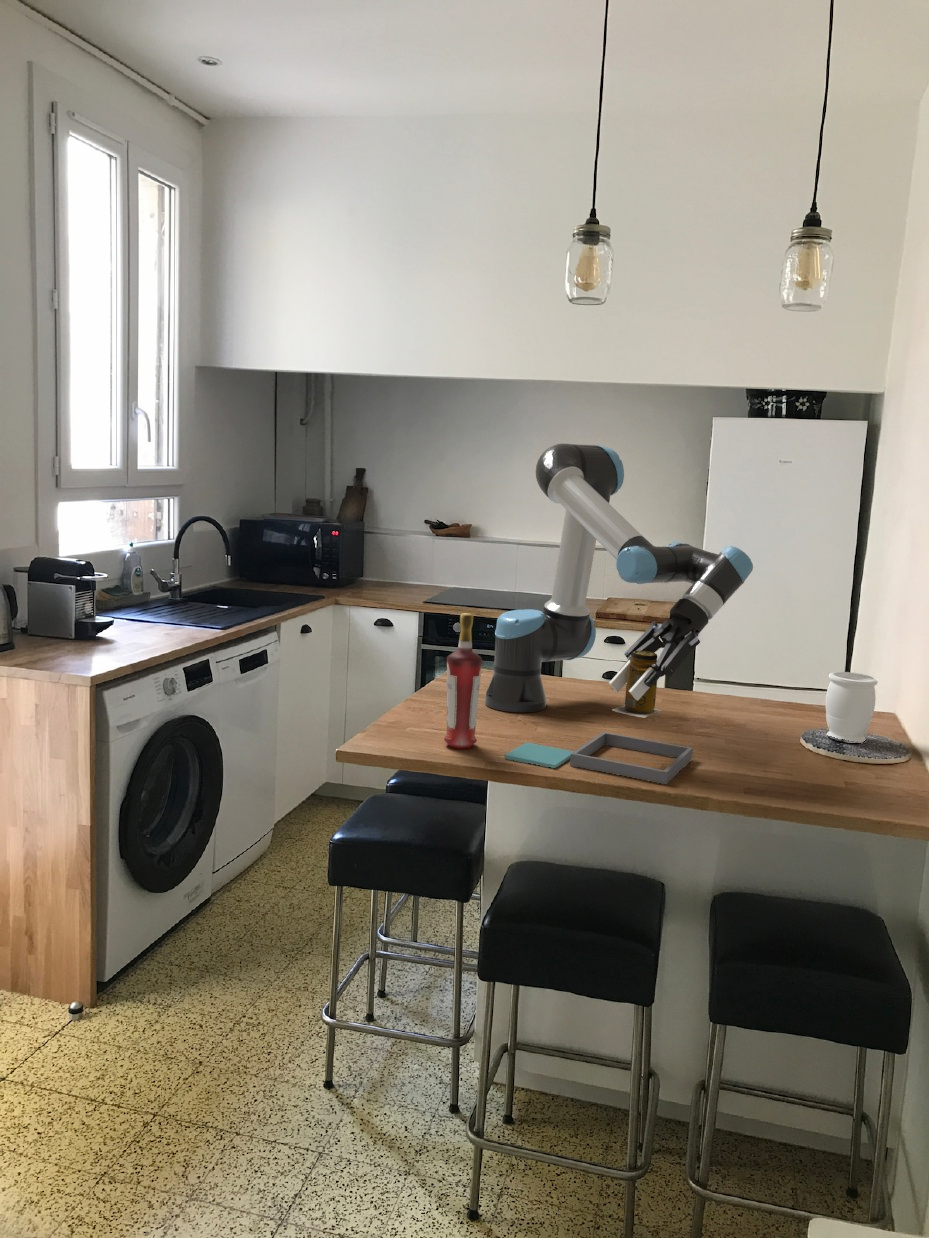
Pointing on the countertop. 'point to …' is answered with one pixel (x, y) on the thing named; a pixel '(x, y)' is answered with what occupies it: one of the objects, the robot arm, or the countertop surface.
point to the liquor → (463, 689)
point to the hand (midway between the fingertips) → (623, 691)
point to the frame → (645, 773)
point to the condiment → (635, 671)
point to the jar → (850, 705)
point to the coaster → (539, 755)
